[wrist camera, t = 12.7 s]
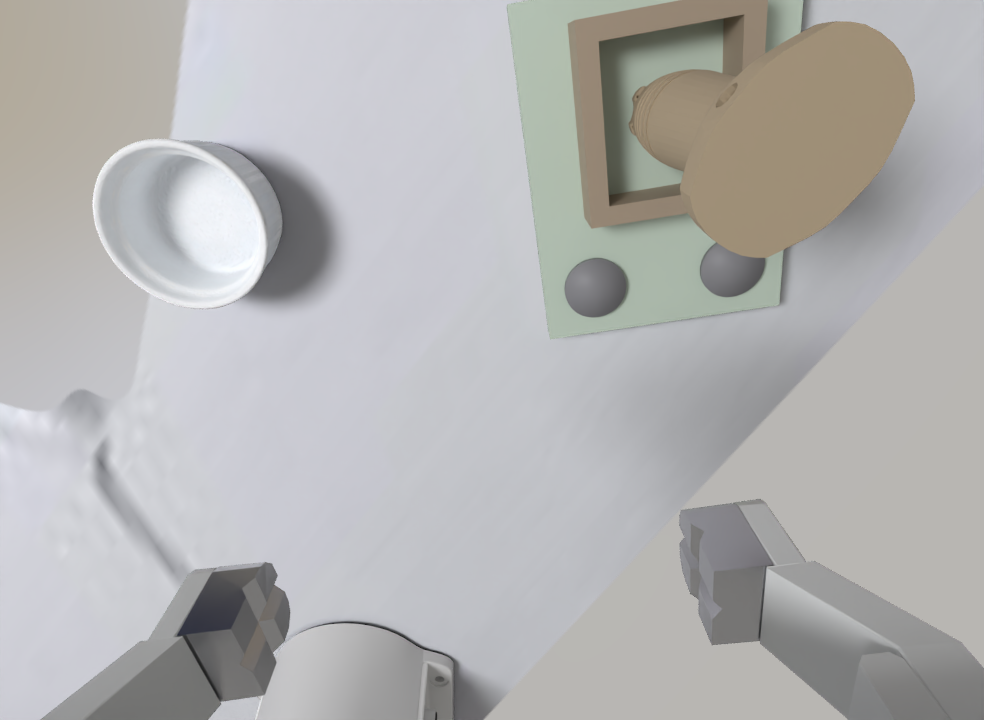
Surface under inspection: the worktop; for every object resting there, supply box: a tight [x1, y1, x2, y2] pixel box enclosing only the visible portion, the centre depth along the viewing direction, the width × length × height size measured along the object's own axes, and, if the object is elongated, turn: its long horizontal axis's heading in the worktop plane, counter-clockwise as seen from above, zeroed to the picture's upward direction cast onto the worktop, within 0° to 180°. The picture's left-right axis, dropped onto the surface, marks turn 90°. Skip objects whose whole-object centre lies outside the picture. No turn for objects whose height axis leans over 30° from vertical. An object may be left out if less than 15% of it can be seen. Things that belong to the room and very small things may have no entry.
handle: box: [628, 22, 915, 258], centre depth 23 cm, size 5×6×15 cm
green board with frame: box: [507, 0, 803, 339], centre depth 30 cm, size 18×14×4 cm
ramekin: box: [92, 139, 283, 309], centre depth 31 cm, size 9×9×4 cm
